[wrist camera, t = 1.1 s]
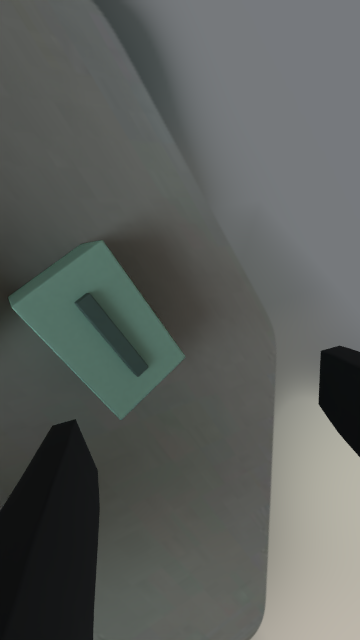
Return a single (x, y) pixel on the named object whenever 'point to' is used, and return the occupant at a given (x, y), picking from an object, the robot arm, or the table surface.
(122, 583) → the table surface
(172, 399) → the table surface
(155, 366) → the green pad
